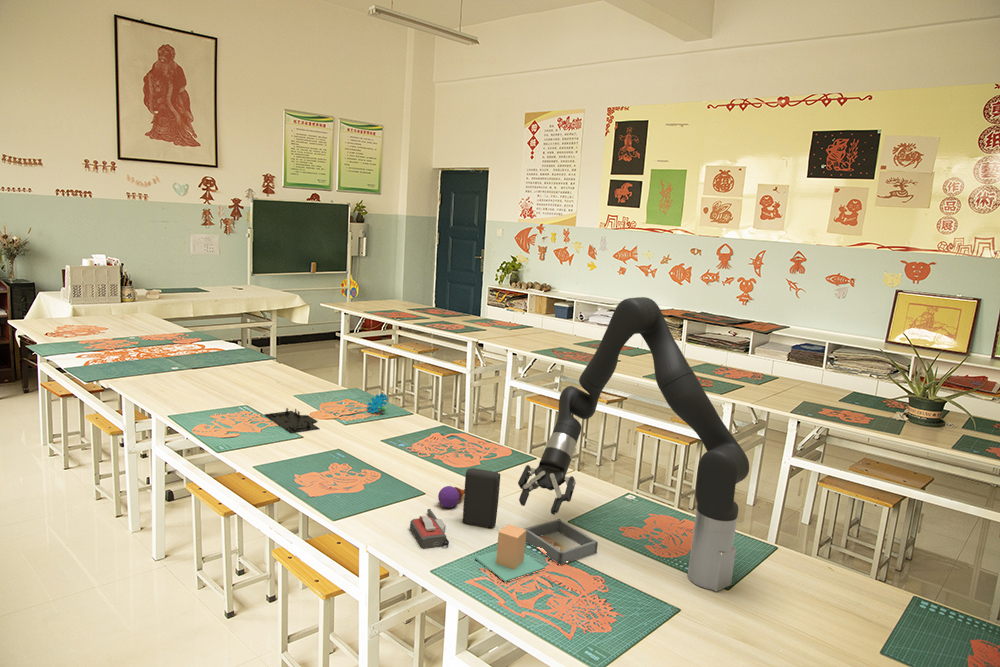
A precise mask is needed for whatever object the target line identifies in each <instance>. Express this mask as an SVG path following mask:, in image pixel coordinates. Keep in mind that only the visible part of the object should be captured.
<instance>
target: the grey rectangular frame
mask: <svg viewBox="0 0 1000 667" xmlns="http://www.w3.org/2000/svg"><path fill="white" fill-rule="evenodd" d="M524 529H525V530H527V531H526V542H525V543H527V542H528V543H529V544H528V543H527V544H528V545H530V544H531V545H533V546H535V547H540V548H543V549H544V550H545V551H546V552H547V553H546V554H547V555H548V556H549V557H550V558H551V559H550V558H549V557H548V558H549V559H550V560H552V559H553V560H555V561H556V562H557V563H556V562H555V561H554V562H555V563H556V564H557V565H559V564H560V565H559V566H561V564H562V565H565V564H566V563H565V562H566V561H571V562H574V561H576V560H579V559H582V558H586V557H589V556H591V555H594V554H595V555H596V554H597V553H598V546H599V541H597V540H596V539H594V538H592V537H591V536H589V535H587V534H585V533H584V532H582V531H580V530H579V529H577V528H576V527H574V526H573V525H570V524H569V523H568V522H566V521H564V520H562V519H560V518H557V519H554V520H550V521H547V522H543V523H540V524H536V525H532V526H530V527H526V528H524ZM556 532H559V533H561V534H563V535H564V536H566V537H567V538H569V539H570V540H572V541H574V543H577V544H578V546H574V547H571V548H569V549H565V550H560V549H559V548H557V547H555V546H554V545H552V544H551V543H549V542H548V541H546V540H545V539H543V538H542V536H541V535H543V536H545V535H548V534H552V533H556ZM538 536H539V537H538ZM531 545H530V546H531ZM533 546H532V547H533ZM553 560H552V561H553ZM564 563H565V564H564Z"/></svg>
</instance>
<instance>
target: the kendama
mask: <svg viewBox="0 0 1000 667" xmlns="http://www.w3.org/2000/svg"><path fill="white" fill-rule="evenodd" d="M464 490H465V488H463V489H461V488H460V487H456V486H452V485H447V486H444V487H442V488H441V489H440V490H439V492H438V495H437V496H438V498H437V499H438V502H439V504H440V505H441V506H442V507H444V508H447V509H450V508H453V507H455V506H457V504H458V502H460V501H461V500H462V499H463V498H464Z"/></svg>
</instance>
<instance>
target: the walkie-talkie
mask: <svg viewBox="0 0 1000 667" xmlns="http://www.w3.org/2000/svg"><path fill="white" fill-rule="evenodd" d="M427 513H428V514H429V515H420V516H419V518H418V517H417V518H413V519H411V520H410V524H409V529H410V532H411V533H412V535H413V537H414V538H415V539H416V542H417V543H418V545H419V546H420V548H421V549H424V550H426V549H433V548H440V547H441V548H442V547H446V546H449V544H450V541H449V540H448V538H447V535H446V534H445V533H446V527H447V526H446V524H445V522H444V521H443V519H442V518H437V517H436V515H435V514H434V512H433V511H432V510H431V508H428V509H427Z"/></svg>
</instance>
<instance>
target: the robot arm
mask: <svg viewBox="0 0 1000 667" xmlns="http://www.w3.org/2000/svg"><path fill="white" fill-rule="evenodd" d="M634 335H641V337H642V338H643V341H644V342H645V343H646V345H647V347H648V348H649V351H650V354H651V356H652V360H653V368H654V376H655V381H656V384H657V386H658V389H659V391H660V392H661V394H662V396H663V398H664V400H665V401H666V403H667V404H668V406H669V407H670V409H671V410H672V412H674V413H675V414H676V415H677V416H678V417H679V418H680V419H681V420H682V421H683V422H685V423H686V425H688V426H689V428H691V429H692V430H693V431H694V432H695V433H696V435H697V436H698V438H699V439H700V441H701V442H702V444H703V446H704V448H705V450H706V452H704V453H703V454H702V456H701V458H700V459H699V462H698V467H697V473H696V474H697V475H696V481H695V482H696V485H695V499H696V511H695V518H694V519H695V520H694V525H693V534H692V540H691V546H690V555H689V561H688V562H689V563H688V570H687V578H688V579H689V580H690V582H692V583H693V584H695V585H696V586H698V587H701V588H703V589H706V590H707V589H708V590H712V591H714V592H716V593H717V592H719V591H721V590H723V589H725V588H728V587H730V586H731V585H732V582H733V581H732V580H733V573H734V568H735V560H736V554H737V548H736V547H735V546H734V542H735V533H736V528H737V522H738V515H739V505H738V503H737V502H736V501H735V494H736V486H737V484H739V483H740V482H742V481H743V480H745V479H746V477H748V475H749V472H750V461H749V459H748V457H747V454H746V453H745V451H744V450H743V448H742V447H741V445H740V444H739V443H738V441H737V440H736V438H735V437H734V436H733V435H732V433H731V432H730V430H729V429H728V427H727V426H726V425H725V423H724V422H723V421H722V419H721V417H720V415H719V414H718V411H717V410H716V408H715V407H714V405H713V403H712V401H711V399H710V398H709V397H708V395H707V393H706V391H705V390H704V388H703V385H702V384H701V382H700V380H699V379H698V377H697V375H696V374H695V372H694V371H693V369H692V367H691V366H690V364H689V362H688V361H687V359H686V357H685V355H684V354H683V351H682V350H681V348H680V347H679V345H678V344H677V342H676V340H675V338H674V336H673V334H672V332H671V330H670V327H669V325H668V323H667V321H666V319H665V317H664V314H663V313H662V310H661V308H660V307H659V305H658V304H657V303H656V301H654V300H653V299H651V298H649V297H647V296H646V297H644V296H640V297H639V296H638V297H628V298H625V299H623V300H621V301H619V303H618V304H617V306H616V307H615V309H614V311H613V313H612V316H611V318H610V321H609V322H608V325H607V327H606V330H605V332H604V333H603V336H602V339H601V341H600V342H599V345H598V347H597V349H596V351H595V353H594V354H593V356H592V358H590V361H589V362H588V364H587V365H586V366H585V368H584V370H583V371H582V373H581V375H580V376H579V380H578V382H579V385H580V386H581V387H582V388H583V390H584V391H583V390H581V389H579V388H578V387H575V386H573V385H569V386H566V387H565V388H564V389H563V390H562V391H561V393H560V396H559V400H558V409H557V418H556V423H555V425H554V428H553V430H552V433H551V435H550V437H549V439H548V440H547V443H546V446H545V449H544V451H543V453H542V456H541V458H540V461H539V462H538V466H537V467H536V468H533V467H531V466H530V464H529V465H528V464H526V465H525V467H524V469H523V471H522V473H521V475H520V477H519V480H518V482H517V484H518V486H519V488H520V489H521V490H522V491H521V493H520V495H519V498H518V500H519V503H520V505H521V506H522V507H525V506H526V504H527V501H528V499H529V496H530V493H531V492H532V491H533V490H536V489H538V488H541V489H547V490H548V491H554V492H555V494H556V497H555V498H554V501H553V503H552V506H551V509H550V513H551V515H553V516H555V515H556V514H558V513H559V511H560V509H561V506H562V503H563V502H571V501H572V497H573V493H574V490H575V486H576V484H577V483H576V479H575V477H574V476H568V477H567V476H566V475H567V473H568V470H569V466H570V465H571V461H572V459H573V458H574V453H575V450H576V446H577V443H578V440H579V438H580V435H581V432H582V430H583V429H582V428H583V426H582V423H580V421H579V420H577V418H575V416H576V417H578V418H580V419H582V420H588V419H591V418H592V417H593V416H594V414H595V412H596V409H597V405H598V403H599V399H600V397H601V396H600V395H601V394H602V392H603V390H604V389H605V386H607V384H608V383H609V381H610V379H611V378H612V376H613V374H614V373H615V371H616V368H617V364H618V361H619V357H620V356H619V355H620V353H621V351H622V350H623V347H624V346H625V345H626V344H627V342H628V341H629V340H630V339H631V338H632V337H633V336H634ZM585 391H586V392H585ZM573 415H574V416H573ZM533 475H534V477H532V476H533ZM530 477H532V478H531V479H530ZM564 483H565V484H566V488H565V491H564V494H563V493H562V491H561V488H560V486H561V485H563V484H564Z"/></svg>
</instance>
